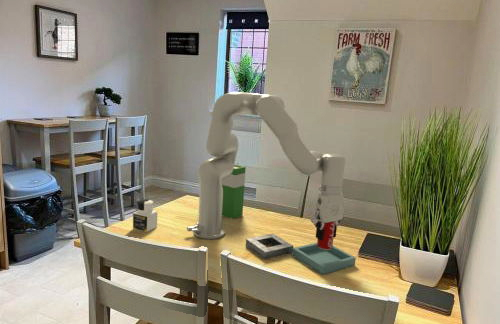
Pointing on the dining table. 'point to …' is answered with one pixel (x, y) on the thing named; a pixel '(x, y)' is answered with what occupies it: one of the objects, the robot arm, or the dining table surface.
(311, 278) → the dining table surface
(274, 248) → the grey square frame
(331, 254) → the tray
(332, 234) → the soda can
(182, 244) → the dining table surface
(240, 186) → the green cereal box
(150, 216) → the medicine bottle
